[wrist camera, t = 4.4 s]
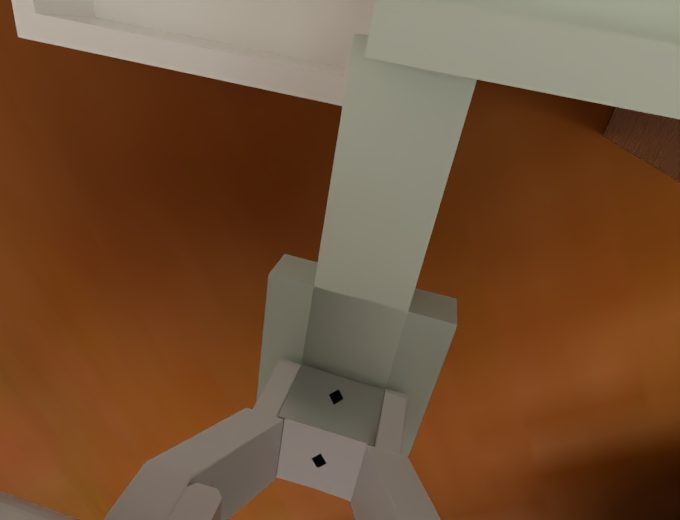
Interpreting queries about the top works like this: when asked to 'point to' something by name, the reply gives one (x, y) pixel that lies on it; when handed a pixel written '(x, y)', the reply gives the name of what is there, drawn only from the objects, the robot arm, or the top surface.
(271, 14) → the white flat rimmed tray
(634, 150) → the stand
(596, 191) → the top surface
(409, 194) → the lever
